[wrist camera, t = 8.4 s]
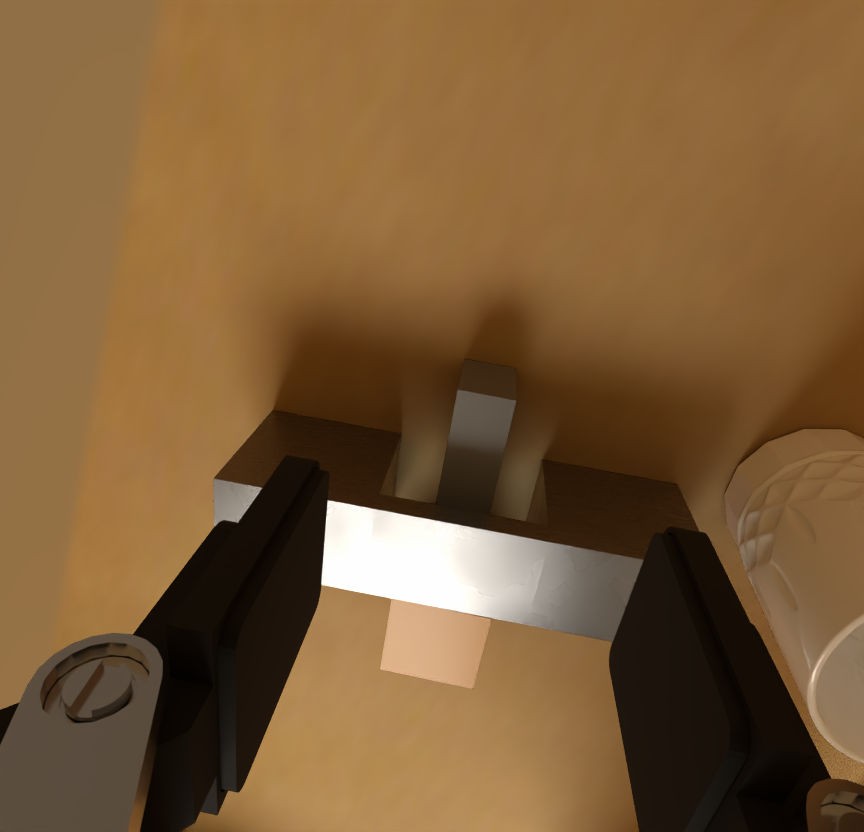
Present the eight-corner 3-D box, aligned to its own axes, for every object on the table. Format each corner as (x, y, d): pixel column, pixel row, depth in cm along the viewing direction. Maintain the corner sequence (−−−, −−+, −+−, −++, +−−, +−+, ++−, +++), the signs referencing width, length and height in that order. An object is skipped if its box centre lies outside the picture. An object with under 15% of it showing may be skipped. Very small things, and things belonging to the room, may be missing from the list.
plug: (477, 625, 31) (472, 688, 28) (395, 608, 31) (380, 669, 28) (541, 373, 25) (546, 413, 21) (438, 353, 25) (426, 390, 22)
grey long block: (650, 555, 28) (682, 655, 23) (270, 484, 29) (215, 563, 24) (677, 484, 26) (719, 574, 21) (272, 410, 27) (213, 478, 22)
